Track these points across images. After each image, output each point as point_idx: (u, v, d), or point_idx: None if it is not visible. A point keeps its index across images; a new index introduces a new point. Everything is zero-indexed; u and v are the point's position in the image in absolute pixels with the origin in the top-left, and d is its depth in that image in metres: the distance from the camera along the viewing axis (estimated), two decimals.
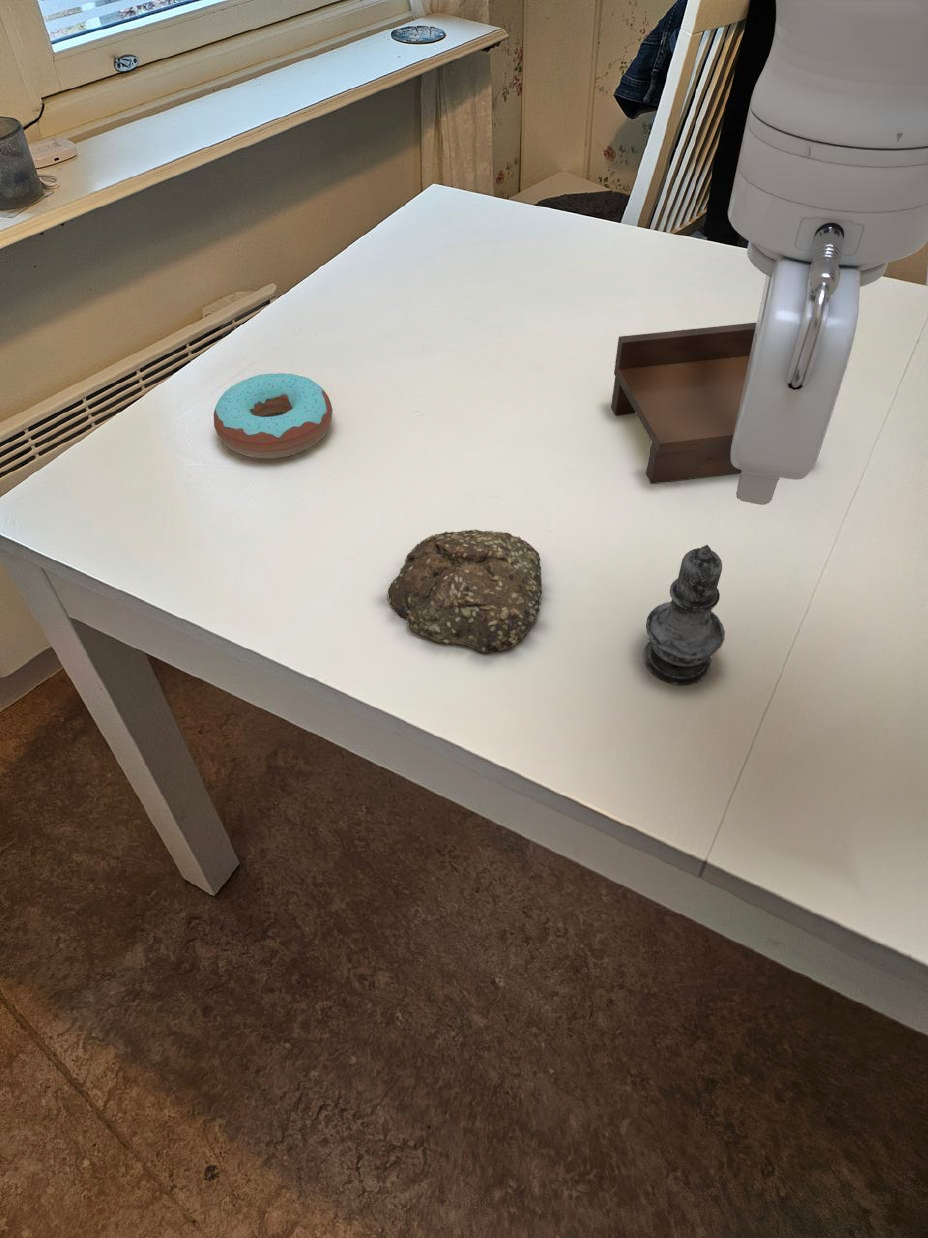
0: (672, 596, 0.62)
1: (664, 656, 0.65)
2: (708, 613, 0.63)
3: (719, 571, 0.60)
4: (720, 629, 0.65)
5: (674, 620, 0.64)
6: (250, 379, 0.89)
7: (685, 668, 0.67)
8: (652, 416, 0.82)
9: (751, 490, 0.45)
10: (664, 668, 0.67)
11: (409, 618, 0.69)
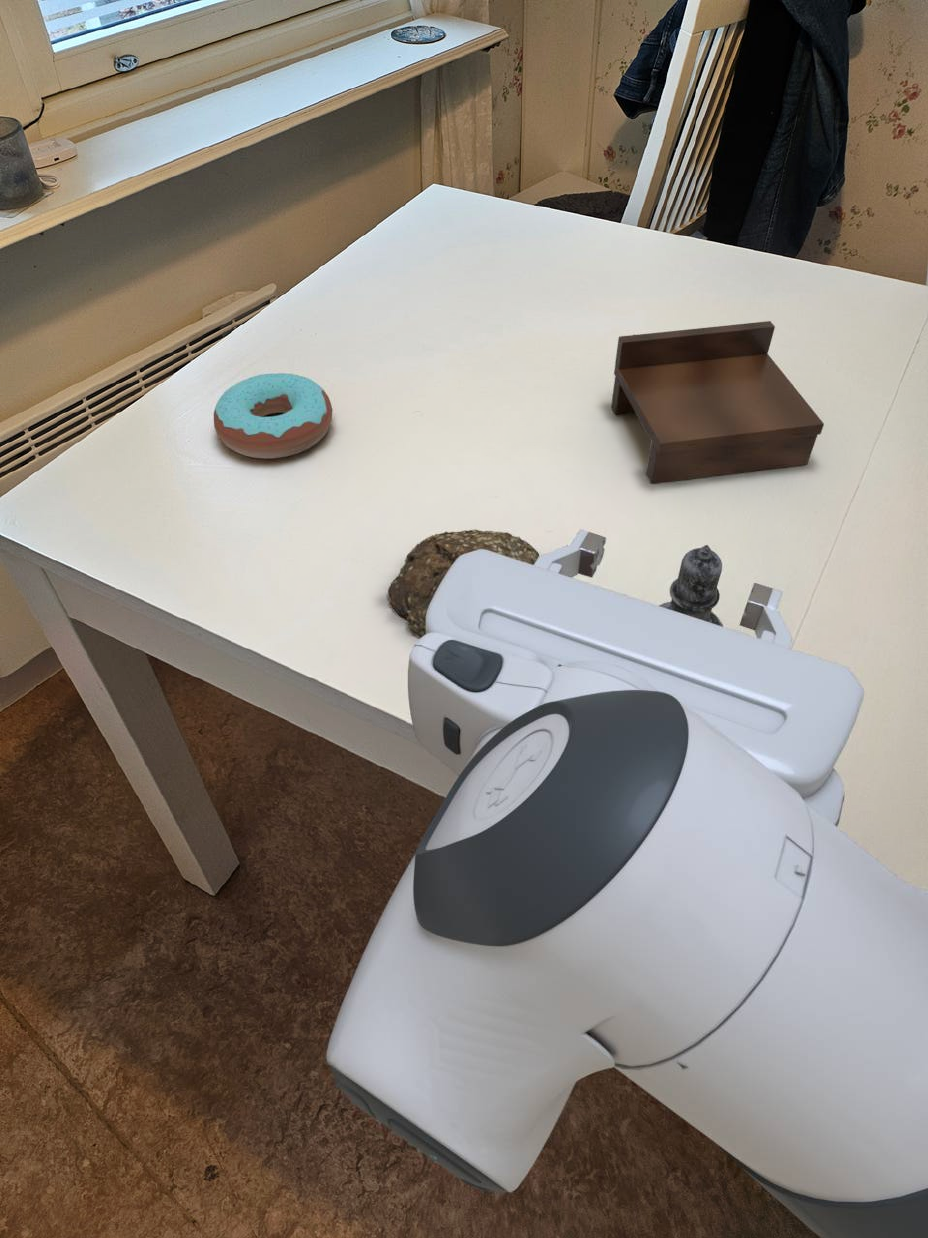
0: (672, 596, 0.62)
1: None
2: (708, 613, 0.63)
3: (719, 571, 0.60)
4: None
5: None
6: (250, 379, 0.89)
7: None
8: (652, 416, 0.82)
9: None
10: None
11: (409, 618, 0.69)
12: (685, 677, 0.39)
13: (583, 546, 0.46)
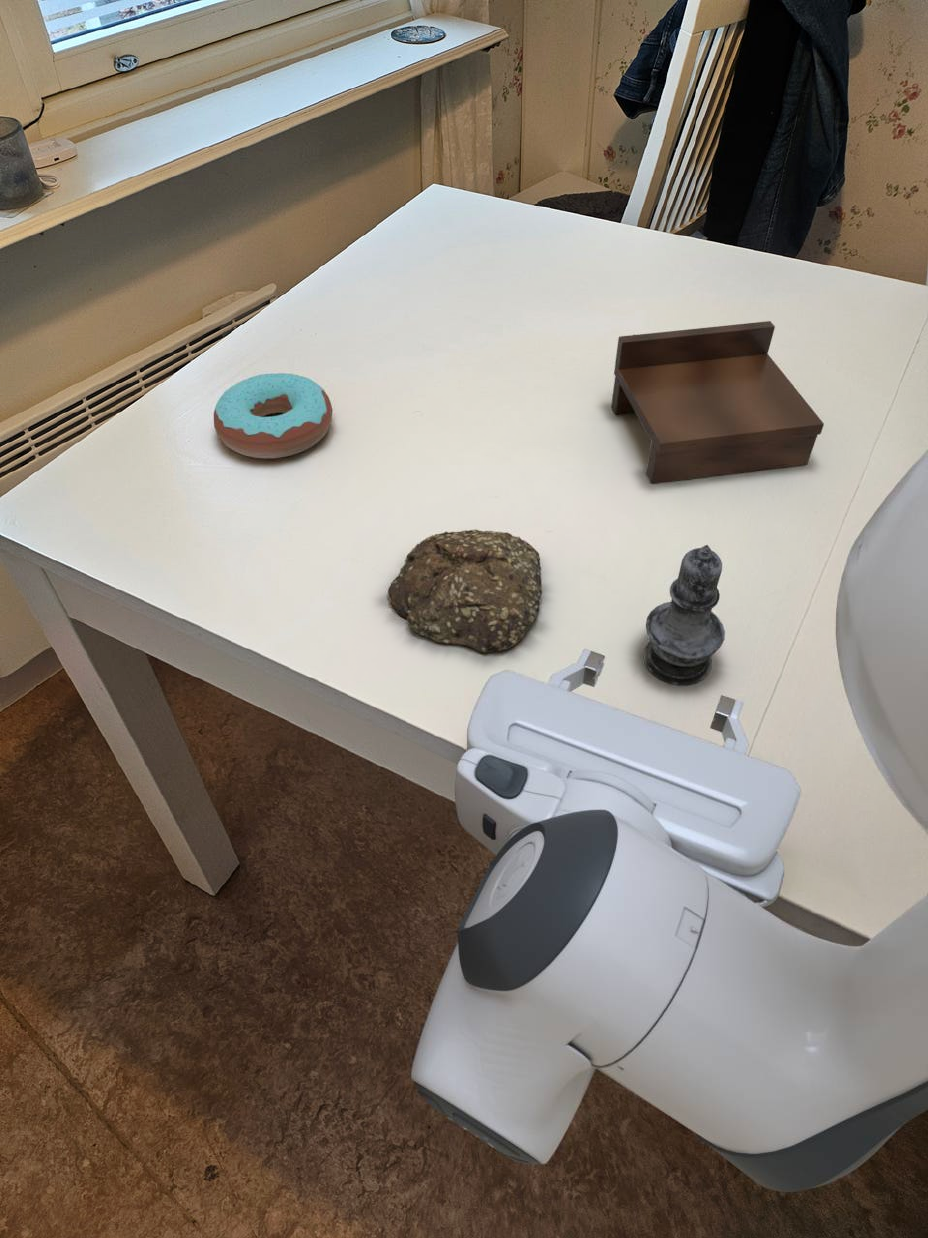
0: (672, 596, 0.62)
1: (664, 656, 0.65)
2: (708, 613, 0.63)
3: (719, 571, 0.60)
4: (720, 629, 0.65)
5: (674, 620, 0.64)
6: (250, 379, 0.89)
7: (685, 668, 0.67)
8: (652, 416, 0.82)
9: None
10: (664, 668, 0.67)
11: (409, 618, 0.69)
12: (666, 780, 0.51)
13: (587, 664, 0.58)
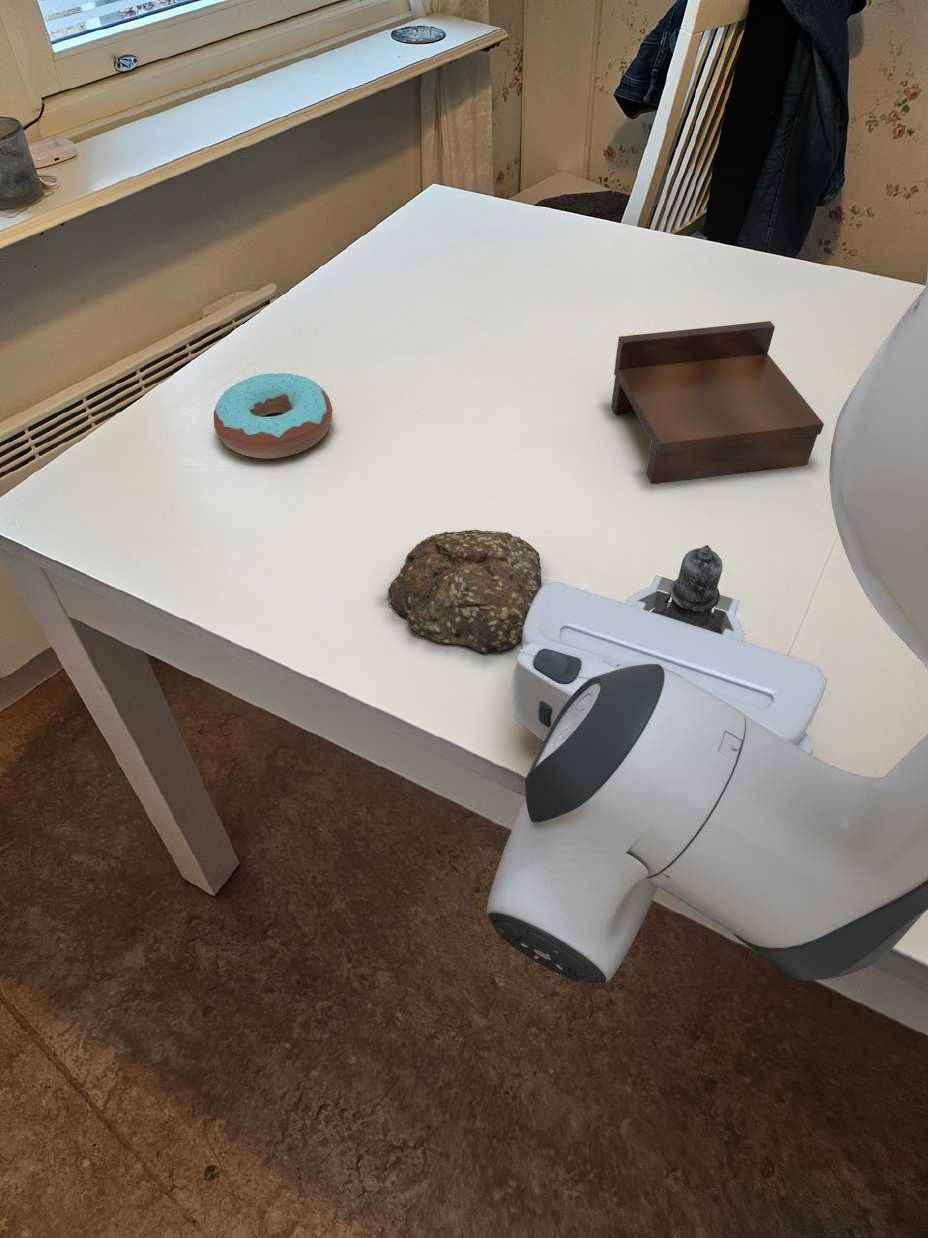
0: (672, 596, 0.62)
1: None
2: (708, 613, 0.63)
3: (719, 571, 0.60)
4: (720, 629, 0.65)
5: None
6: (250, 379, 0.89)
7: None
8: (652, 416, 0.82)
9: None
10: None
11: (409, 618, 0.69)
12: (704, 672, 0.57)
13: (659, 588, 0.63)
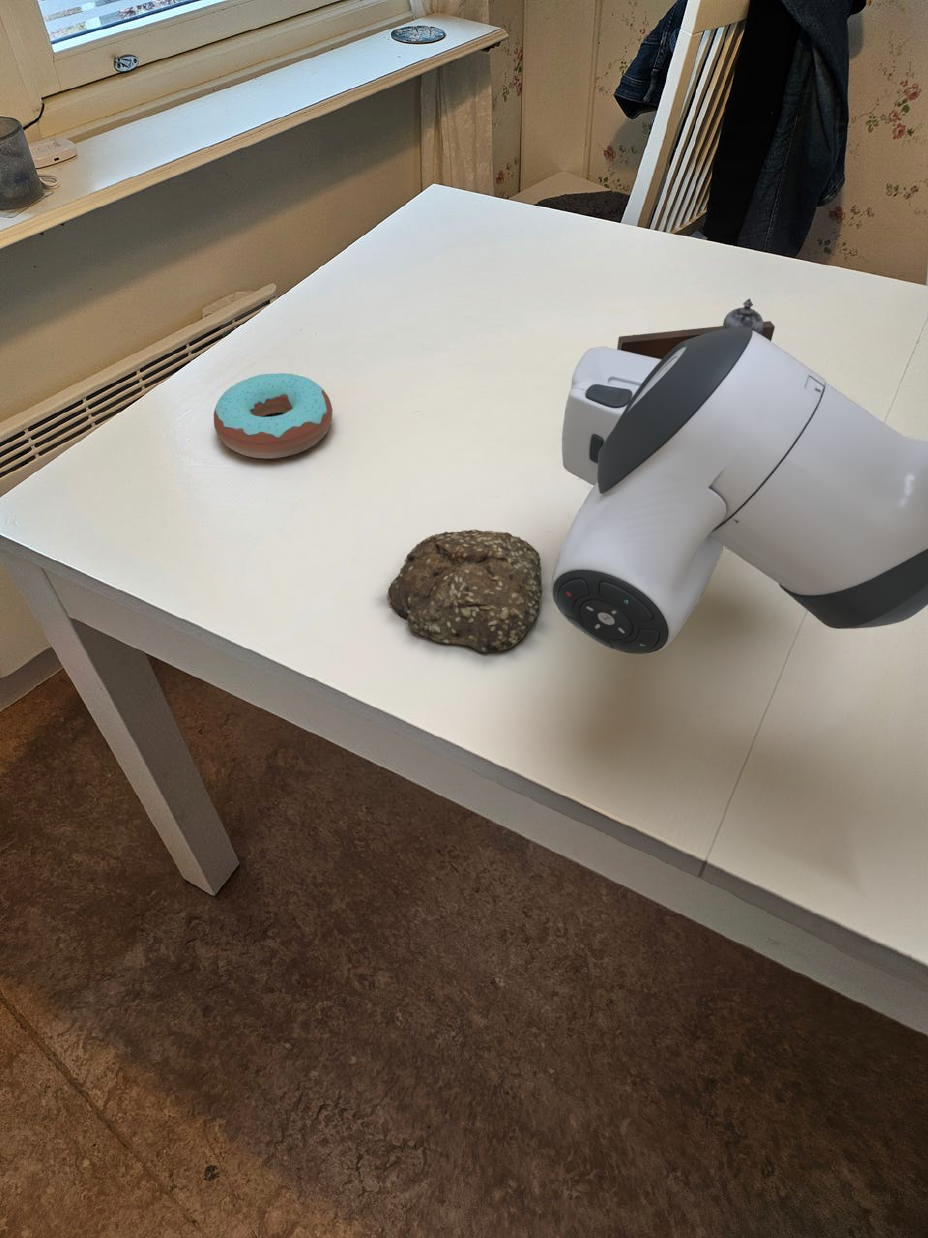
0: None
1: None
2: None
3: (760, 326, 0.62)
4: None
5: None
6: (250, 379, 0.89)
7: None
8: None
9: None
10: None
11: (409, 618, 0.69)
12: None
13: None
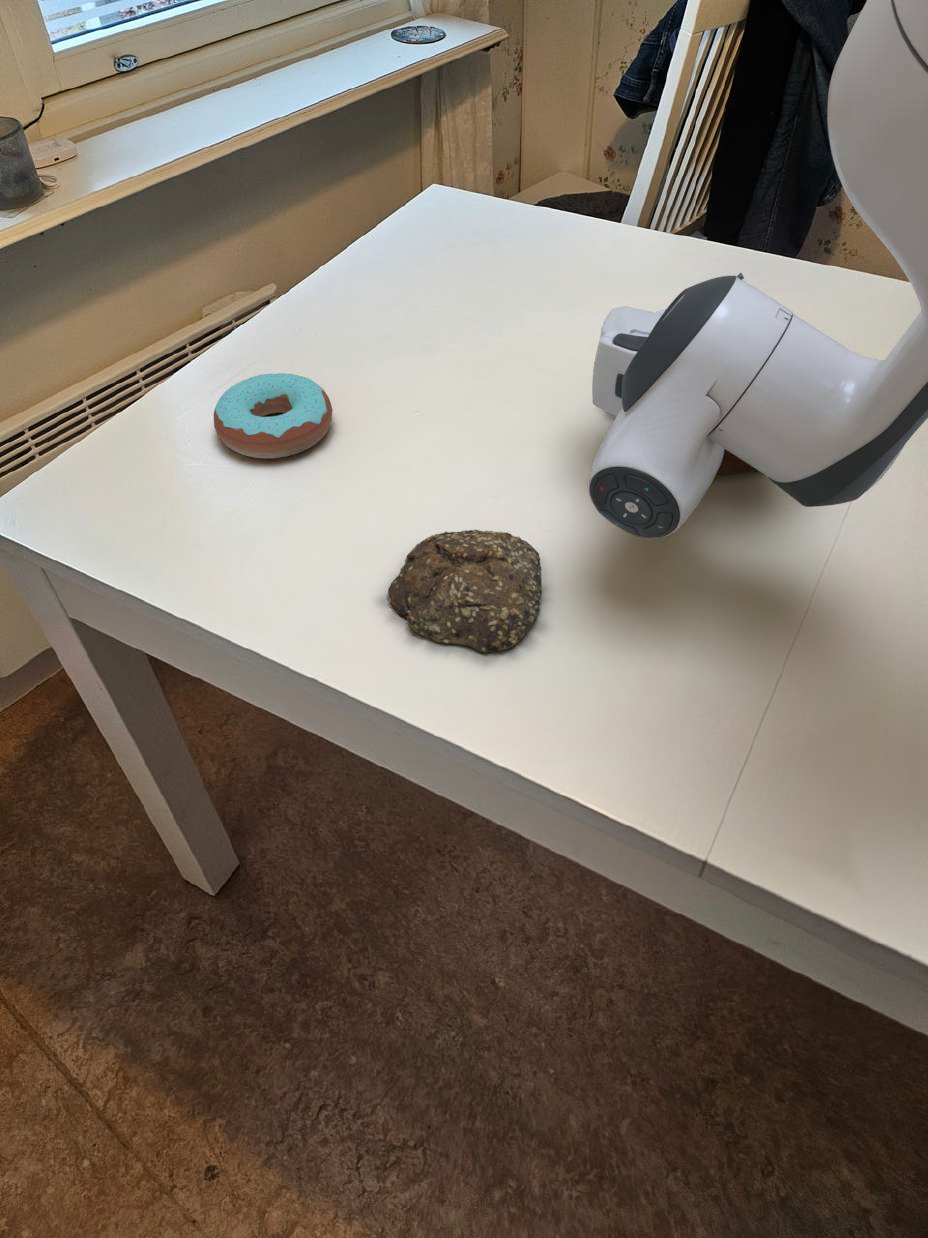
0: None
1: None
2: None
3: None
4: None
5: None
6: (250, 379, 0.89)
7: None
8: None
9: None
10: None
11: (409, 618, 0.69)
12: None
13: None
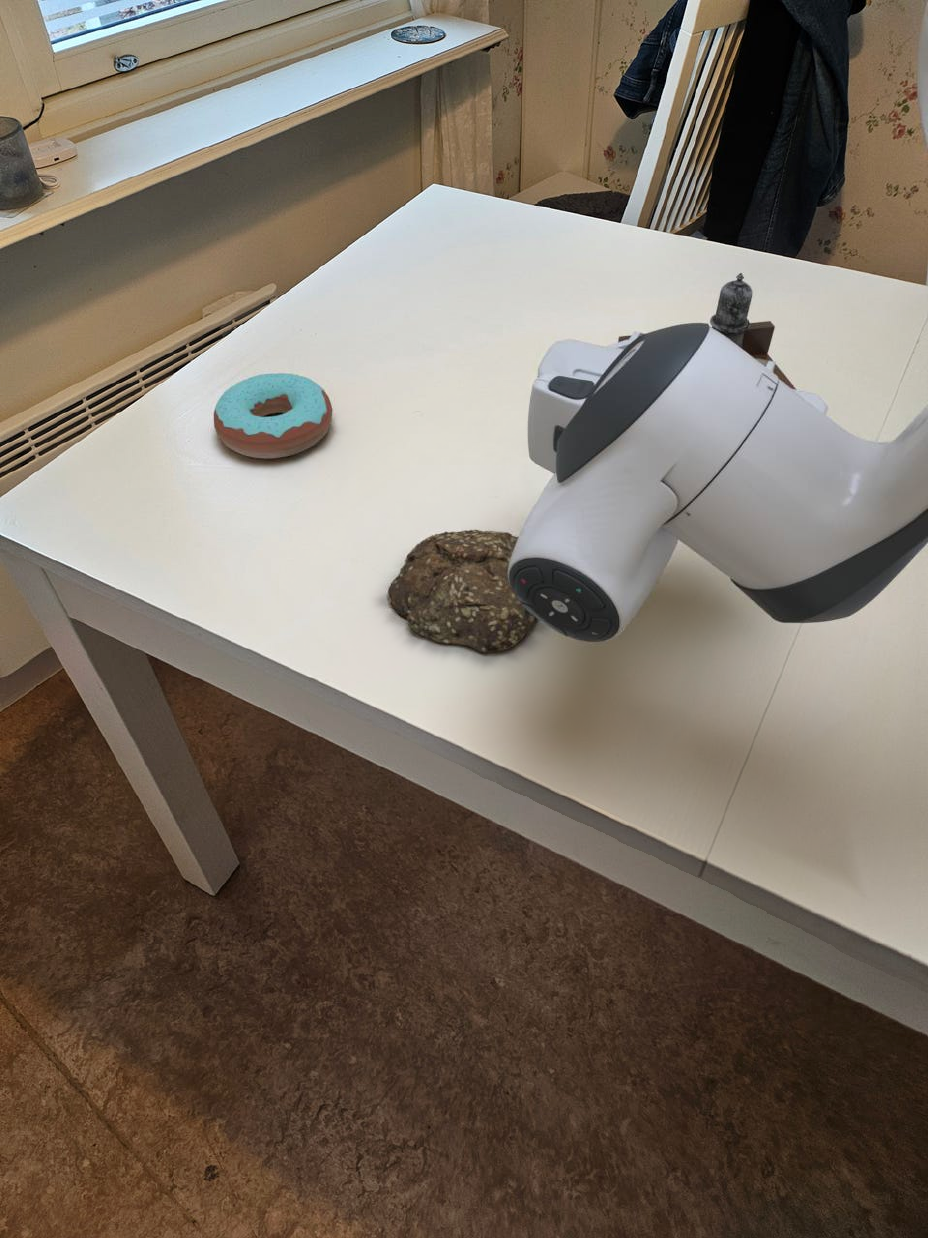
0: (712, 323, 0.79)
1: None
2: (740, 338, 0.79)
3: (750, 295, 0.77)
4: None
5: None
6: (250, 379, 0.89)
7: None
8: None
9: None
10: None
11: (409, 618, 0.69)
12: None
13: None
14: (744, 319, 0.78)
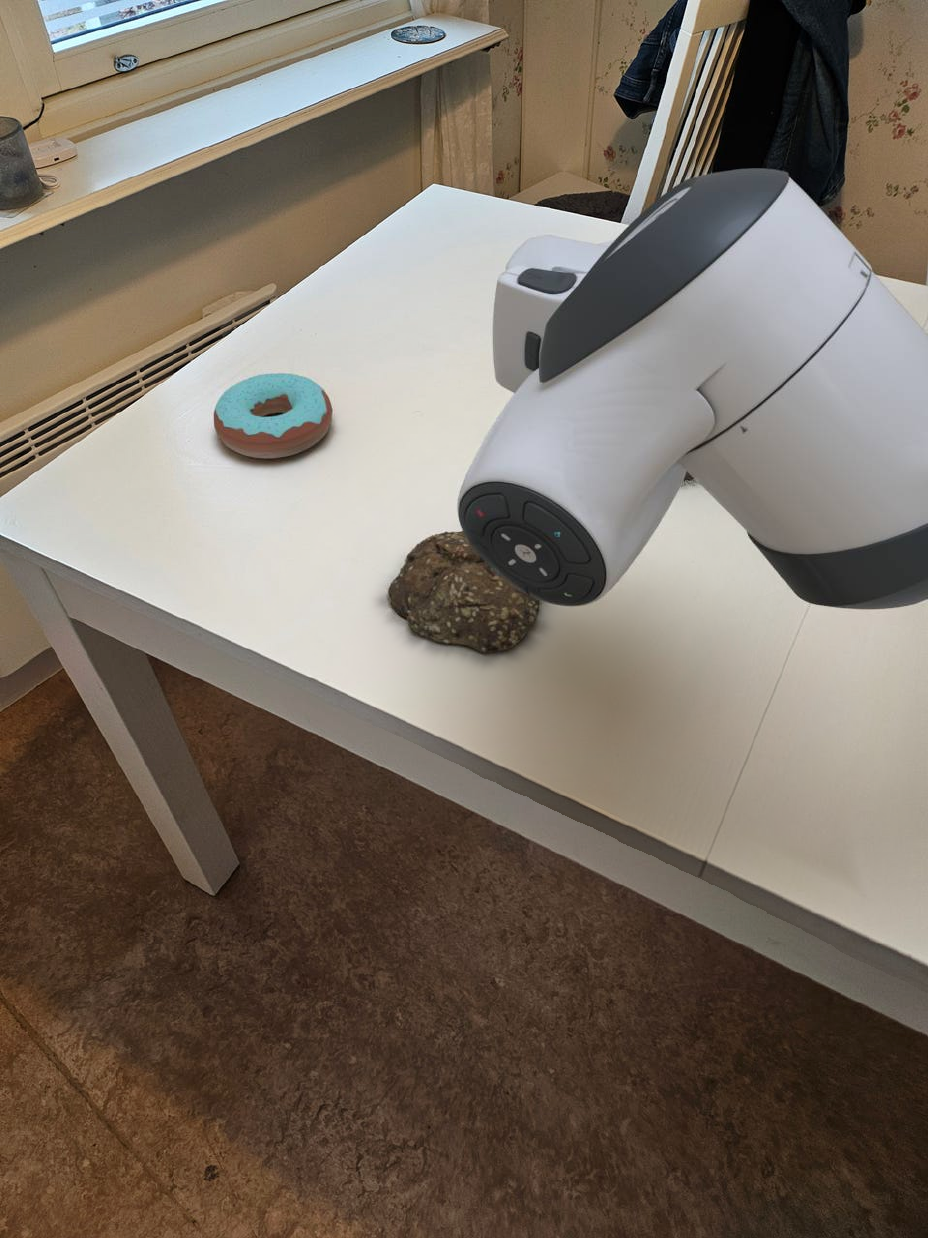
0: None
1: None
2: None
3: None
4: None
5: None
6: (250, 379, 0.89)
7: None
8: None
9: None
10: None
11: (409, 618, 0.69)
12: None
13: None
14: None
